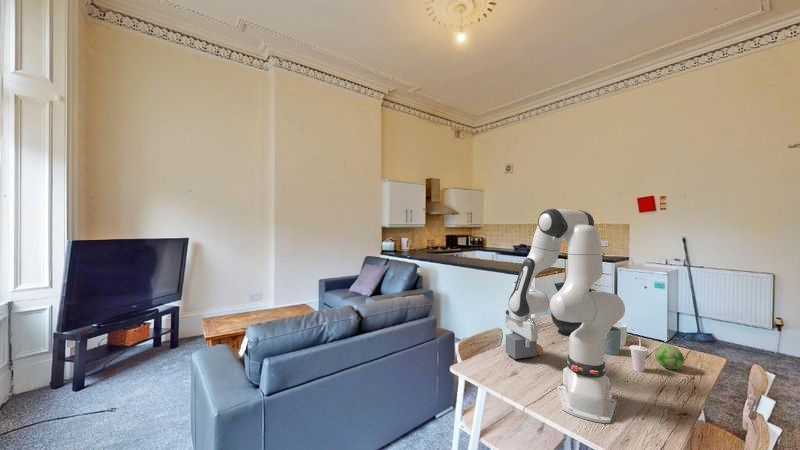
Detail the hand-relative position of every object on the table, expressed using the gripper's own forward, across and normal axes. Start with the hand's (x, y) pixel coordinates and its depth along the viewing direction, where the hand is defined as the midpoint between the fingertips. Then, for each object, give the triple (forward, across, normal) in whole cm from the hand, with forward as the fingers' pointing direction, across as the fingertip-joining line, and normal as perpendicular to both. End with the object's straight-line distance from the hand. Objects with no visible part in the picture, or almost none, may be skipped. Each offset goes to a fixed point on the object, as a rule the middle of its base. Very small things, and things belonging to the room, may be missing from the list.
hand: (520, 343), depth 149 cm
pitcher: (+7, +18, -46) cm, 50 cm away
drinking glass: (+7, -6, -46) cm, 47 cm away
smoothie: (+7, -25, -42) cm, 49 cm away
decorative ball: (+7, -27, -56) cm, 63 cm away
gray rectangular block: (+5, 0, 0) cm, 5 cm away
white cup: (+7, +1, -60) cm, 61 cm away
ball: (+4, 0, -10) cm, 10 cm away
